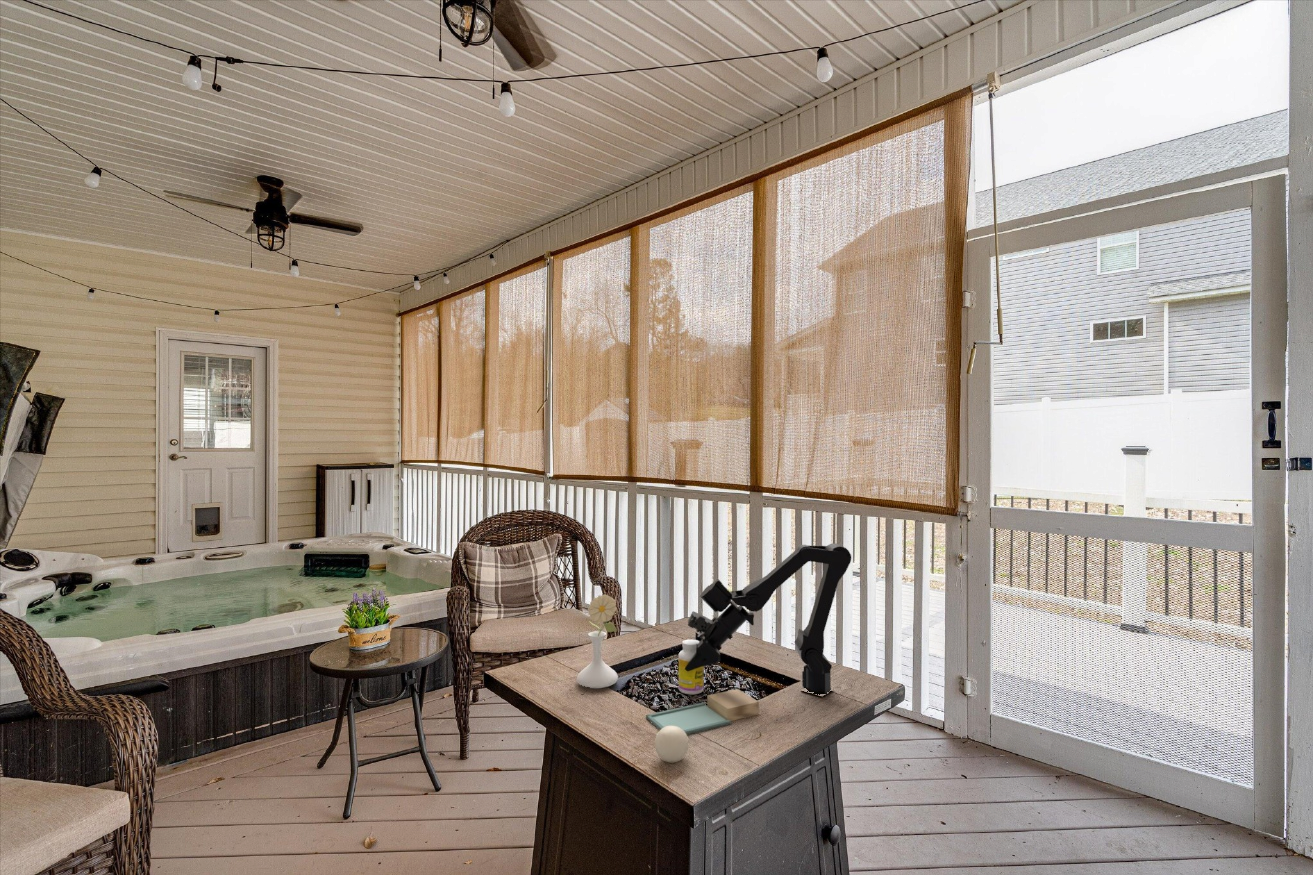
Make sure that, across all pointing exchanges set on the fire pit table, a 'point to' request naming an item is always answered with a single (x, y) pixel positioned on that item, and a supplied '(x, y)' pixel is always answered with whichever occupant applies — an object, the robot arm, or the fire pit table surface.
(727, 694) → the block
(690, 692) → the supplement bottle
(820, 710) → the fire pit table surface
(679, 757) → the cream white ball
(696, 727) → the tray
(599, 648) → the flower in vase
